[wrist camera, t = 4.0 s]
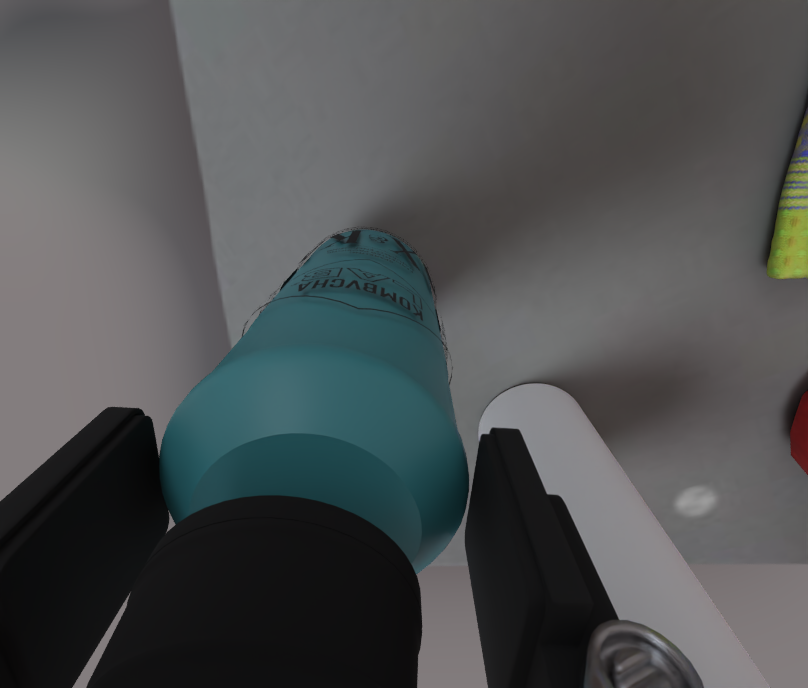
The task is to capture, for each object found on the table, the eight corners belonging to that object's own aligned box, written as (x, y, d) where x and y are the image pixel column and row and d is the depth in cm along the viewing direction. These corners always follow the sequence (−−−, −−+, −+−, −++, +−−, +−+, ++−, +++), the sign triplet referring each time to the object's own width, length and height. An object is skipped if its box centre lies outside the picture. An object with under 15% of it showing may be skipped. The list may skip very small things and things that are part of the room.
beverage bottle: (433, 338, 25) (538, 896, 6) (311, 345, 25) (58, 915, 6) (428, 214, 22) (584, 539, 4) (293, 222, 22) (-228, 582, 4)
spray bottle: (600, 439, 29) (1306, 1482, 6) (510, 486, 31) (812, 1465, 8) (551, 362, 27) (1333, 1498, 4) (457, 417, 29) (655, 1468, 6)
